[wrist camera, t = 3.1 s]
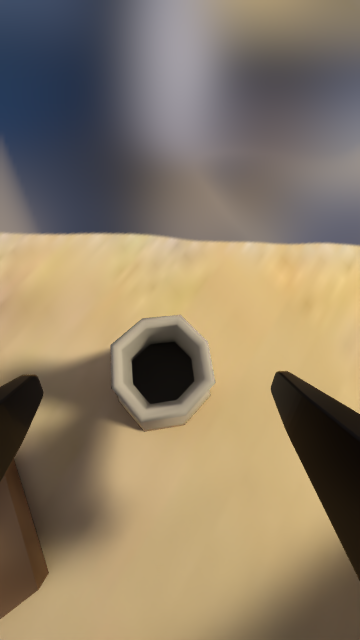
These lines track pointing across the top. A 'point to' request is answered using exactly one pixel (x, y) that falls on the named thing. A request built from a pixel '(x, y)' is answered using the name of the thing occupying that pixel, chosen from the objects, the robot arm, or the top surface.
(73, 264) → the top surface
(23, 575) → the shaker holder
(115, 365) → the flask
